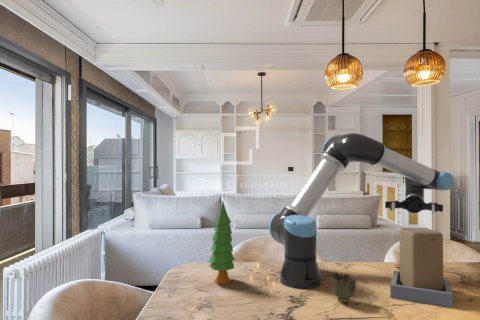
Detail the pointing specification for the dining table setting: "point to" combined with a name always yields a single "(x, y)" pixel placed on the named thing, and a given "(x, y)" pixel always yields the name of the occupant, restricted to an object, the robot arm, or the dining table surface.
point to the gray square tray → (421, 292)
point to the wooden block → (421, 258)
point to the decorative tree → (222, 247)
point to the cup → (344, 286)
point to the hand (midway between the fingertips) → (412, 208)
